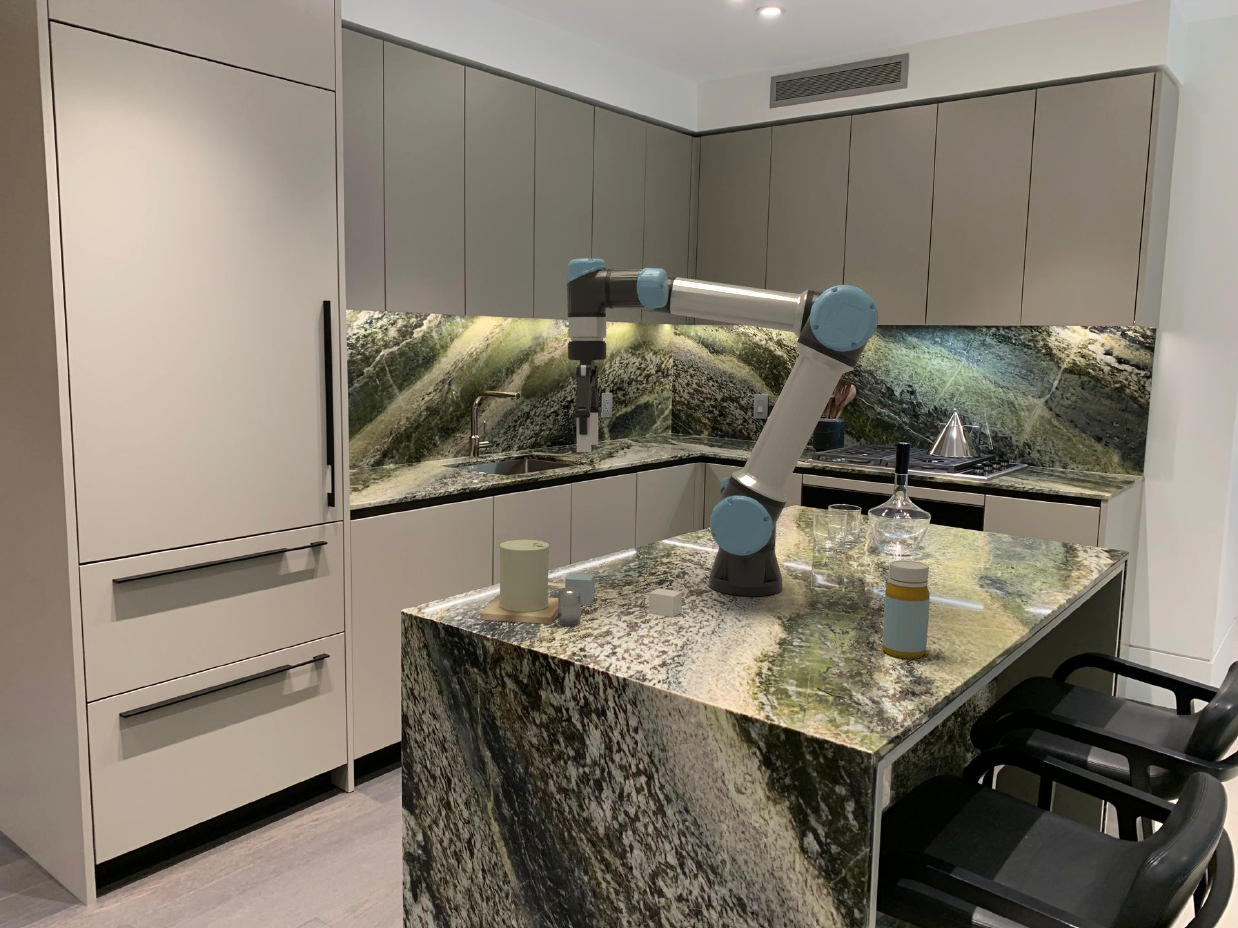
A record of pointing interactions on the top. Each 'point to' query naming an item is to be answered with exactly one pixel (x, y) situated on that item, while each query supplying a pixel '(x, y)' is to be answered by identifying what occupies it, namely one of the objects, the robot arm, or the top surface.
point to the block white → (665, 602)
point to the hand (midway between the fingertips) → (587, 448)
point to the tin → (569, 606)
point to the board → (520, 613)
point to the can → (524, 575)
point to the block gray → (582, 586)
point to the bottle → (906, 610)
